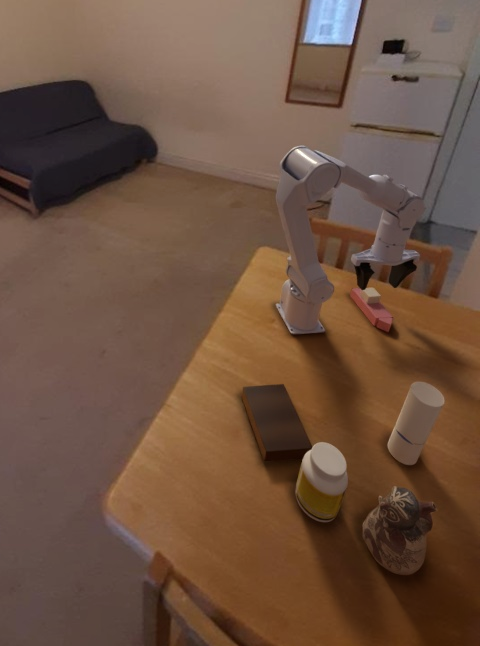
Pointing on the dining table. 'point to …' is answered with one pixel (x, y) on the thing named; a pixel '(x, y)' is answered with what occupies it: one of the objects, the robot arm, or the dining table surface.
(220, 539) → the dining table surface
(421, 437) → the tube
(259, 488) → the dining table surface
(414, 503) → the figurine
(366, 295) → the boat
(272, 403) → the walnut block
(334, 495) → the pill bottle
